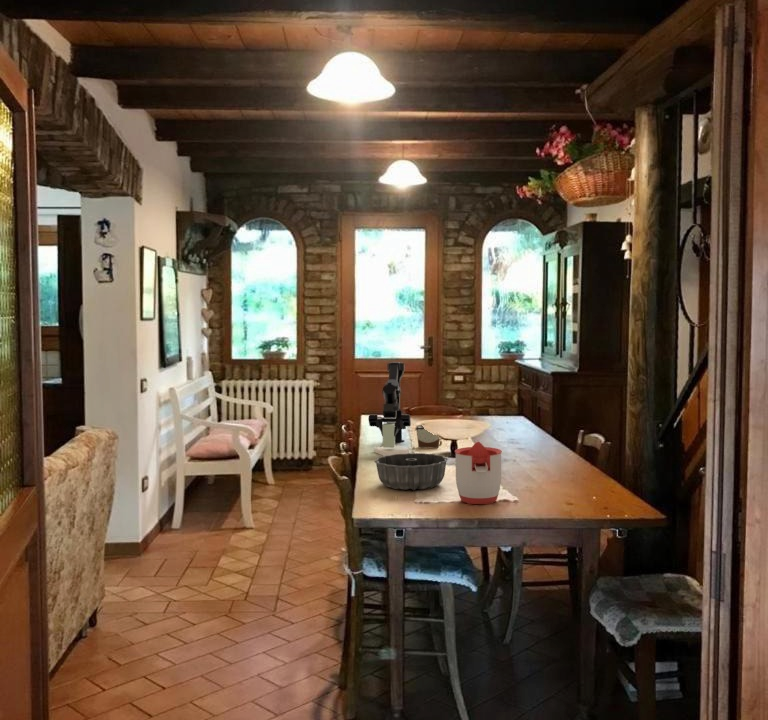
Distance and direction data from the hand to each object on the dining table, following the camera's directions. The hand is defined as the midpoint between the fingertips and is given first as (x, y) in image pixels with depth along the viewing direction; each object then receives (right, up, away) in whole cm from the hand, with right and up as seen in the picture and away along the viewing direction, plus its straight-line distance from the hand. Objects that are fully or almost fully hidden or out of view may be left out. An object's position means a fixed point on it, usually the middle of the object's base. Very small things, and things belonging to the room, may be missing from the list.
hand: (388, 435), depth 347 cm
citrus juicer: (+30, -14, -87) cm, 93 cm away
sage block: (0, -5, +2) cm, 5 cm away
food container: (+19, -7, +19) cm, 28 cm away
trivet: (+1, -8, +4) cm, 9 cm away
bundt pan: (+8, -13, -61) cm, 63 cm away
